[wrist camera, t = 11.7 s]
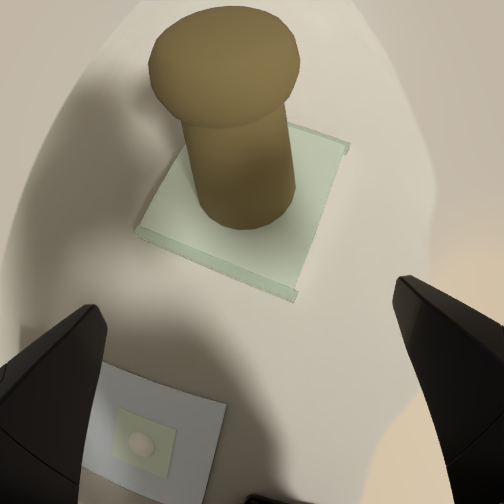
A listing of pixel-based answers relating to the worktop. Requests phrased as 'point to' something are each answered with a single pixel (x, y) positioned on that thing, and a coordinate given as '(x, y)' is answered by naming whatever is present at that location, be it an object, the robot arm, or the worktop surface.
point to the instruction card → (152, 437)
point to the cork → (232, 109)
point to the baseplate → (255, 240)
